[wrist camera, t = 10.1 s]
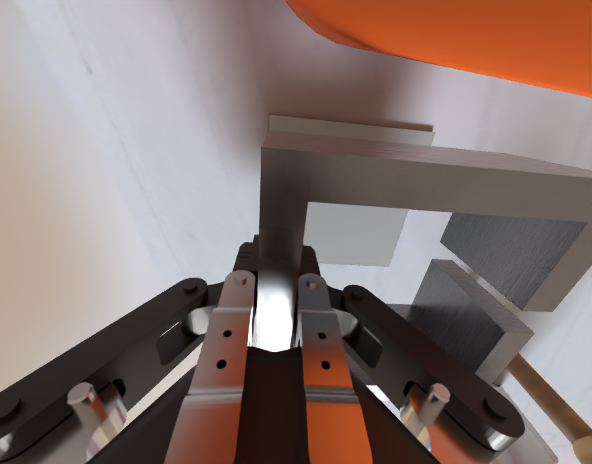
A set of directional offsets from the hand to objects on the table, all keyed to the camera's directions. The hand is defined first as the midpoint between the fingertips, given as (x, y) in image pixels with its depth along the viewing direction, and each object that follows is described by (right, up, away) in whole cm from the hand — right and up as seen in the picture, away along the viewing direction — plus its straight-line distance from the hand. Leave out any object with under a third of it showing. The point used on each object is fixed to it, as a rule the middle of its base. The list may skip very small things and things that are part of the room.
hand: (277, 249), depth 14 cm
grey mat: (+5, +4, +9) cm, 11 cm away
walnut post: (+22, -8, +16) cm, 29 cm away
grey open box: (+6, 0, +1) cm, 6 cm away
